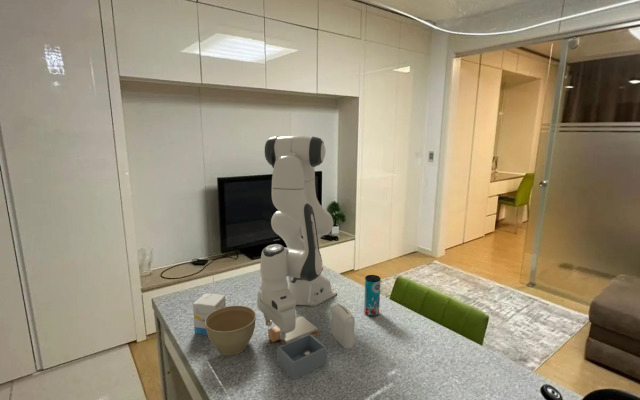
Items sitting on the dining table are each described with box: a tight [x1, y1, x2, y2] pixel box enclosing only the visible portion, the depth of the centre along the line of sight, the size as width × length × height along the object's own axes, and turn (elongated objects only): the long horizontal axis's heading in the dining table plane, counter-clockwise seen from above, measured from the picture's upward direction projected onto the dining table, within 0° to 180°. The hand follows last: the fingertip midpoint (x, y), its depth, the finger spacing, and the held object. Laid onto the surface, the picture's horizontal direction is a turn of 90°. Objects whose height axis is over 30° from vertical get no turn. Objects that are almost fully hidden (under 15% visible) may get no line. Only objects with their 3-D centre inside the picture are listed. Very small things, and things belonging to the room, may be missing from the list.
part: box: [303, 348, 312, 357], centre depth 105 cm, size 3×3×2 cm
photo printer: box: [331, 303, 356, 349], centre depth 114 cm, size 10×4×12 cm, turn 26°
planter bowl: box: [205, 305, 257, 356], centre depth 110 cm, size 16×16×11 cm
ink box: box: [192, 292, 227, 336], centre depth 121 cm, size 8×8×12 cm
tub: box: [277, 334, 328, 381], centre depth 102 cm, size 12×9×6 cm
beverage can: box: [363, 274, 381, 317], centre depth 131 cm, size 6×6×15 cm
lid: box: [267, 316, 318, 343], centre depth 117 cm, size 16×10×4 cm, turn 127°
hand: (275, 331), depth 113 cm, fingers open, 8 cm apart
